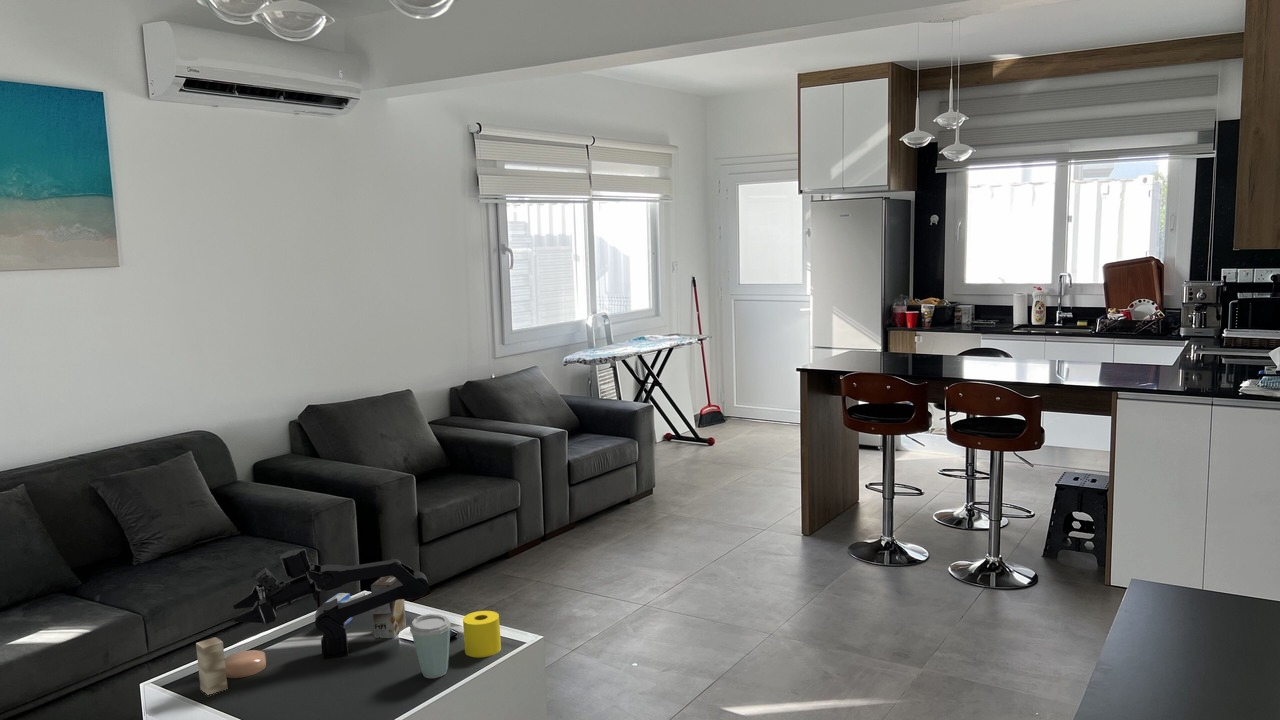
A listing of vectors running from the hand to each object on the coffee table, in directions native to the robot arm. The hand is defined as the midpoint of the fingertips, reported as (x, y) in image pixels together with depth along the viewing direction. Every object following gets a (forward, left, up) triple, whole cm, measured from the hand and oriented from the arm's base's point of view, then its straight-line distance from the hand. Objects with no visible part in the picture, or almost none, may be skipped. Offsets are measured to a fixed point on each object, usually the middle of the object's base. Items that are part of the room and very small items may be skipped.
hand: (233, 613), depth 256 cm
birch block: (+5, +10, -16) cm, 20 cm away
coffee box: (-40, -13, -17) cm, 45 cm away
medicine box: (-25, -25, -17) cm, 39 cm away
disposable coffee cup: (-51, +21, -17) cm, 58 cm away
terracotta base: (-1, -1, -16) cm, 16 cm away
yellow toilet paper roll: (-65, +10, -17) cm, 68 cm away
